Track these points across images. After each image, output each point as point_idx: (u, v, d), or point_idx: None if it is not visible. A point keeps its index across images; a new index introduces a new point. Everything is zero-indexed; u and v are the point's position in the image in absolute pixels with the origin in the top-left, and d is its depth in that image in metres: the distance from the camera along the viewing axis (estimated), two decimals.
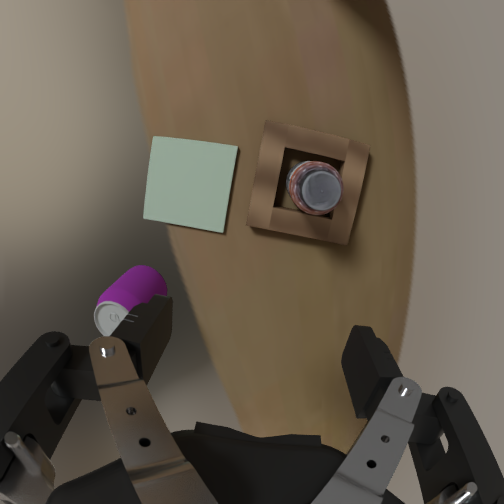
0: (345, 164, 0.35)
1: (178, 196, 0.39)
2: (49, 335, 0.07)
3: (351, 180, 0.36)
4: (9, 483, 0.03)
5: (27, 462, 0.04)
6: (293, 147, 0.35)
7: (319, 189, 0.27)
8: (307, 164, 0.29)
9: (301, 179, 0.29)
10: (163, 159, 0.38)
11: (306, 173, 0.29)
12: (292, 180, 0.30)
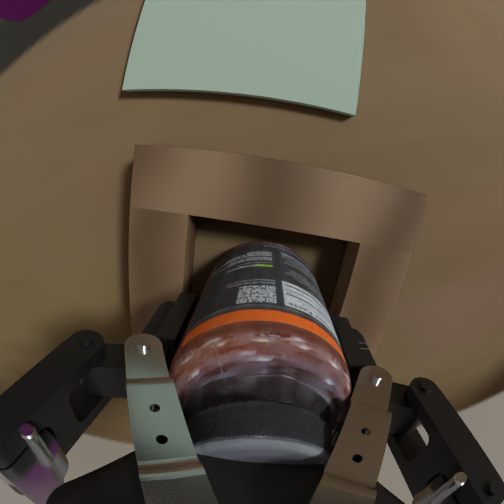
0: None
1: None
2: (83, 334, 0.08)
3: None
4: (17, 471, 0.03)
5: (39, 454, 0.04)
6: (357, 265, 0.13)
7: None
8: (346, 379, 0.07)
9: (295, 386, 0.07)
10: None
11: (319, 397, 0.07)
12: (287, 339, 0.07)
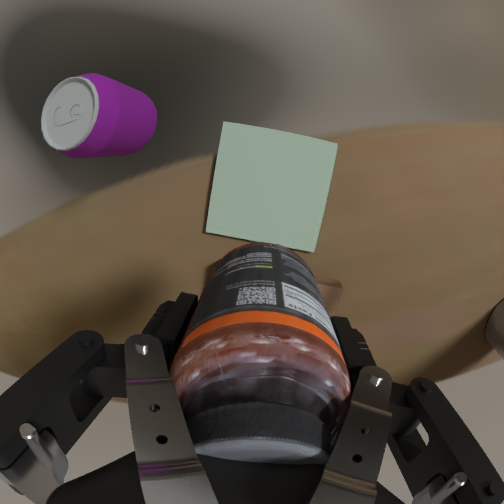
0: None
1: (252, 174, 0.29)
2: (83, 334, 0.08)
3: None
4: (17, 471, 0.03)
5: (39, 454, 0.04)
6: None
7: None
8: (346, 381, 0.07)
9: (295, 387, 0.07)
10: (305, 156, 0.28)
11: (318, 399, 0.07)
12: (287, 340, 0.07)
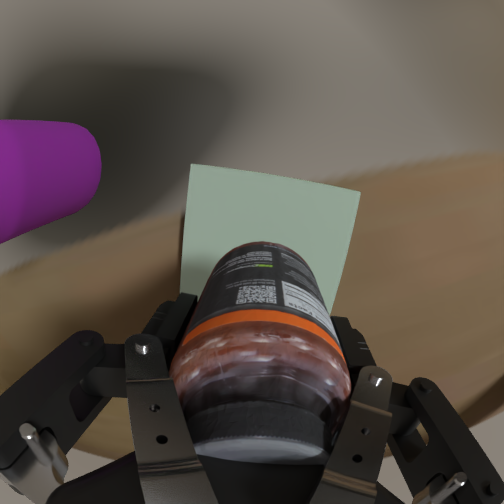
0: None
1: (237, 241, 0.21)
2: (83, 334, 0.08)
3: None
4: (17, 471, 0.03)
5: (39, 454, 0.04)
6: None
7: None
8: (346, 380, 0.07)
9: (295, 386, 0.06)
10: (312, 212, 0.20)
11: (319, 398, 0.07)
12: (287, 339, 0.07)
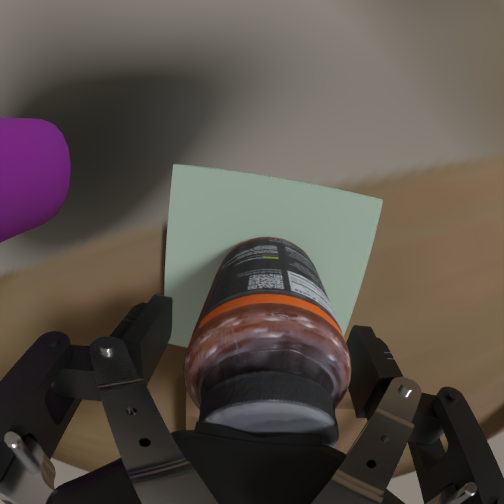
0: None
1: None
2: (49, 335, 0.07)
3: None
4: (9, 483, 0.03)
5: (27, 462, 0.04)
6: None
7: None
8: (346, 357, 0.09)
9: (302, 359, 0.08)
10: (324, 225, 0.16)
11: (323, 371, 0.08)
12: (294, 318, 0.08)
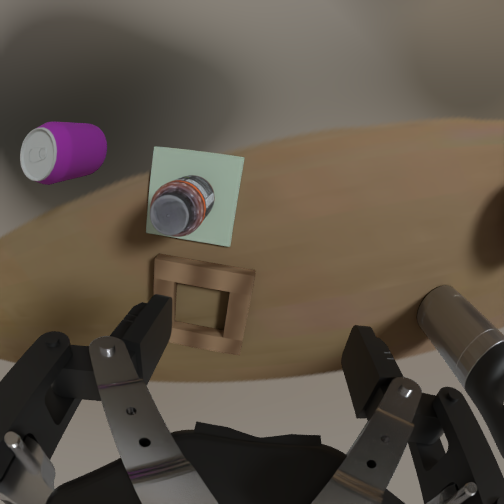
0: (220, 337, 0.43)
1: None
2: (49, 336, 0.07)
3: (207, 341, 0.43)
4: (9, 483, 0.03)
5: (27, 462, 0.04)
6: (230, 298, 0.40)
7: (169, 213, 0.26)
8: (199, 198, 0.29)
9: (181, 193, 0.28)
10: (217, 169, 0.36)
11: (188, 197, 0.28)
12: (181, 183, 0.28)
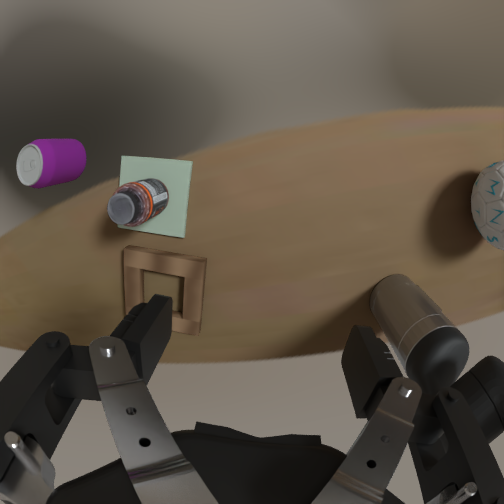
0: (180, 319, 0.48)
1: None
2: (49, 335, 0.07)
3: None
4: (9, 483, 0.03)
5: (27, 462, 0.04)
6: (185, 283, 0.46)
7: (121, 207, 0.33)
8: (145, 195, 0.35)
9: (131, 191, 0.34)
10: (170, 173, 0.42)
11: (136, 195, 0.34)
12: (132, 184, 0.34)
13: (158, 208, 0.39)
